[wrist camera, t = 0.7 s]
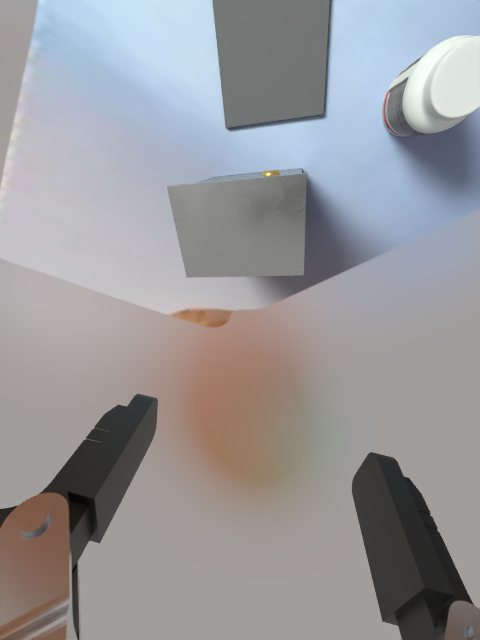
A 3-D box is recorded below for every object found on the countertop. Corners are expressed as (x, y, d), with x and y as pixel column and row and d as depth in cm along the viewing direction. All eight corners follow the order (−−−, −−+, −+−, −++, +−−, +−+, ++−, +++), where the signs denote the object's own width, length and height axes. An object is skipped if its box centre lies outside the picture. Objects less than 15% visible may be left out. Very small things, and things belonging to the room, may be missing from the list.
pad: (212, -12, 23) (211, -14, 23) (331, -42, 21) (332, -46, 21) (226, 128, 29) (225, 127, 28) (323, 114, 26) (323, 114, 26)
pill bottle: (416, 146, 26) (467, 145, 18) (368, 123, 26) (399, 111, 18) (461, 78, 23) (546, 41, 15) (407, 51, 23) (465, -2, 15)
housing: (211, 172, 31) (166, 183, 21) (304, 162, 29) (307, 170, 18) (220, 239, 35) (186, 278, 25) (302, 235, 33) (303, 276, 22)
